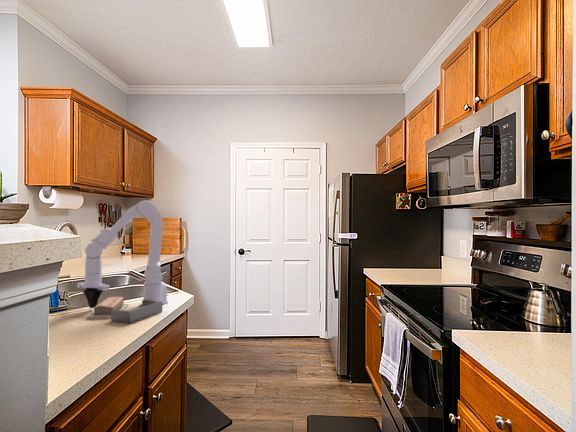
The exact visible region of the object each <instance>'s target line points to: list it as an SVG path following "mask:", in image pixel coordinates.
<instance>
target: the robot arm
mask: <svg viewBox="0 0 576 432" xmlns="http://www.w3.org/2000/svg"><path fill="white" fill-rule="evenodd" d="M140 216H141V217H144V218H146V219H145V220H147V221H148V222H149V223H150V232H149V245H148V246H149V247H148V257H147V258H148V259H147V263H146V268H145V270H144V272H143V275H144V278H145V280H144V282H143V297H142V298H143V299H142V300H153V301H162V305H164V304H167V303H169V301H168V299H167V298H168V297H167V296H168V295H167V294H168V293H167V291H168V287H167V285H166V283H165V282H163V281H162V279H163V273H162V270H161V254H162V253H161V252H162V251H161V249H162V241H163V240H162V239H163V238H162V237H163V228H164V219H163V217H162V215H161V213H160V212H159V209H158V208H157V205H155V204H154V203H153V202H152V201H150V200H145V199H144V200H141V201H139V202H137V204H136V205H135V204H134V205H133V206H132V207H130V208H129V209H128V210H127V211H126V212H125V213H123V215H122V216H121V217H120V218H119V219H118V220H116V222H115V223H114V224H113V225H112V226H111V227H105V228H104V229H103V228H101V230H100V231H99V232H100V233H99V234H98V235H97V236H96V237H95V238H92V239H91V240H90V241H91V242H89V243H88V244H87V245H86V247H85V249H84V252H85V265H84V266H85V267H84V282H77V285H76V287H77V289H84V290H82V294H84V296H85V298H86V300H87V301H86V302H87V304H88V307H89V309H94V308H95V307H96V306H97V305H98V303H99V299H100V297H101V294H102V293H103V292H106V291H107V292H108V291H110V284H106V283H102V269H103V267H102V266H103V265H102V254H103V250H106V249H108V247H109V246H110V245H111V244H112V243H113V242H115V240H116V239H117V238H118V233H119V232H120V231H121V230H122V229H123V228H124V227H125V226H126V225H127V224H128V223H129V222H131V221H132V220H133V219H136V218H139V217H140ZM138 306H141V307H142V302H141V303H138Z"/></svg>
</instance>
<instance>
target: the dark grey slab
mask: <svg viewBox="0 0 576 432" xmlns="http://www.w3.org/2000/svg"><path fill="white" fill-rule="evenodd" d="M141 301H142V302H141V303H142V306H141V307H138V308H135V309H131V310H127V309H125V310H119V309H112V310H111V318H110V322H114V323H122V324H127V325H130V324H133V323H136V322H139V321H141V320H143V319H147V318H149V317H151V316H154V315H157V314H159V313H160V314H161V313H162V312H163V304H162V301H153V300H143V299H142V300H141Z"/></svg>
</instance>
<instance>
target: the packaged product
mask: <svg viewBox="0 0 576 432" xmlns="http://www.w3.org/2000/svg"><path fill="white" fill-rule="evenodd" d="M124 301H125V298H124V297H123V296H108V297H106V298H105V299H103V300H102V301H100V302H99V303H97V306H96V307H94V308H93V309H94V310H93V311H91V312H90V313H89V314H88V315H86V318H87V320H94V319H95V320H98V319H99V320H100V319H101V320H103V319H111V310H112V309H119V310H124V309H125V308H126V309H127V308H128V307H127V306H129V304H128V303H127V304H126V303H124ZM126 309H125V310H126Z"/></svg>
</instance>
